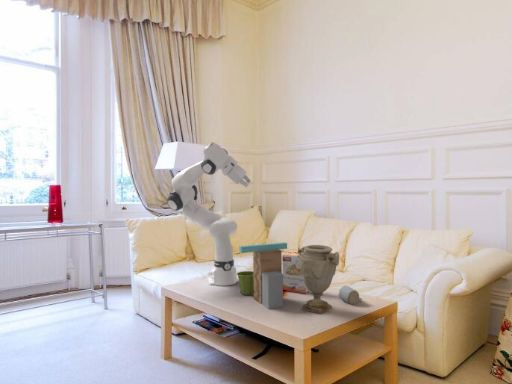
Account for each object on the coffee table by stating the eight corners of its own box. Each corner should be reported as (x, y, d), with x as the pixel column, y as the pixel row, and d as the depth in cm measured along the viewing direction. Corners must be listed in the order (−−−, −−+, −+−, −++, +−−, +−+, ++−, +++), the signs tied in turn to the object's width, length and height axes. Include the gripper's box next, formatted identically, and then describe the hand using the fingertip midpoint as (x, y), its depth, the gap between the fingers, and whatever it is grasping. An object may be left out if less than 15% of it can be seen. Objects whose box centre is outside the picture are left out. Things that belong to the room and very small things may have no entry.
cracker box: (282, 291, 207) (281, 254, 207) (286, 288, 212) (286, 252, 212) (305, 294, 200) (305, 255, 200) (309, 291, 206) (309, 254, 205)
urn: (350, 310, 173) (350, 247, 173) (327, 320, 161) (326, 252, 160) (310, 299, 191) (309, 242, 190) (286, 307, 178) (285, 246, 178)
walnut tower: (253, 299, 193) (253, 249, 192) (274, 295, 198) (273, 247, 197) (261, 303, 185) (260, 252, 184) (282, 300, 190) (281, 250, 189)
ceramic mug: (348, 305, 180) (348, 290, 180) (338, 301, 188) (338, 286, 188) (365, 303, 184) (365, 287, 184) (355, 298, 192) (355, 284, 192)
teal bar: (239, 252, 186) (239, 246, 186) (284, 247, 197) (284, 242, 197) (241, 253, 183) (241, 247, 183) (287, 248, 194) (287, 243, 194)
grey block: (262, 304, 183) (261, 272, 183) (276, 302, 187) (276, 271, 186) (268, 308, 177) (268, 275, 177) (283, 306, 180) (282, 274, 180)
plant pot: (262, 293, 203) (262, 272, 203) (247, 298, 195) (247, 277, 194) (247, 289, 211) (247, 269, 211) (232, 293, 203) (232, 273, 202)
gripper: (229, 167, 206) (247, 183, 207) (222, 174, 186) (242, 192, 188) (236, 159, 205) (254, 176, 206) (230, 165, 185) (250, 184, 186)
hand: (248, 184), depth 197 cm, fingers open, 8 cm apart
